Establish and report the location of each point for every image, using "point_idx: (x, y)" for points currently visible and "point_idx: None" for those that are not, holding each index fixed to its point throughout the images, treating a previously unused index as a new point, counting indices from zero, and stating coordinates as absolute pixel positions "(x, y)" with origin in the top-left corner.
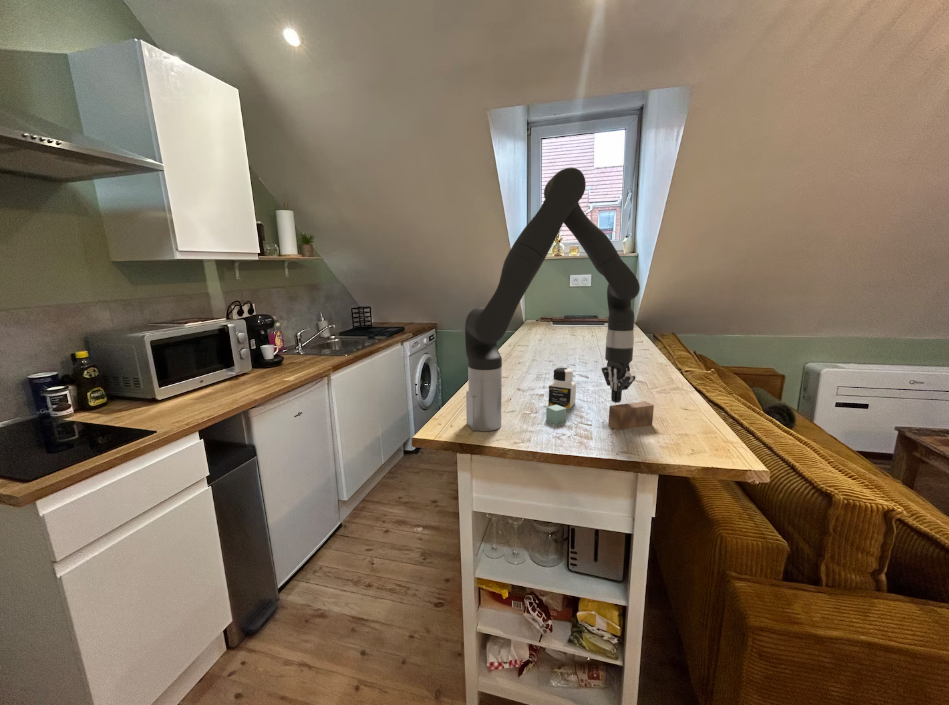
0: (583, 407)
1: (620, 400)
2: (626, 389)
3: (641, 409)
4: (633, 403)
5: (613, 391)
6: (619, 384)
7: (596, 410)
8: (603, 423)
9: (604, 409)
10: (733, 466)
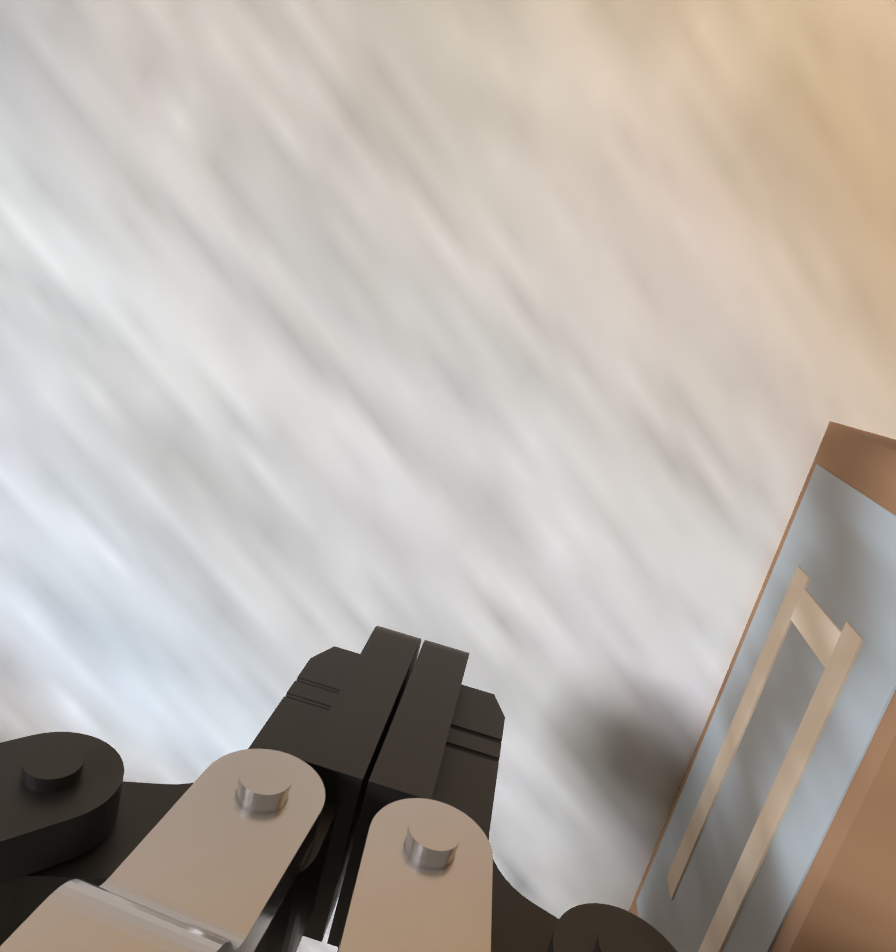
0: (17, 650)
1: (494, 708)
2: (651, 943)
3: None
4: (886, 831)
5: (330, 912)
6: (283, 867)
7: (178, 611)
8: (547, 909)
9: (199, 491)
10: None
